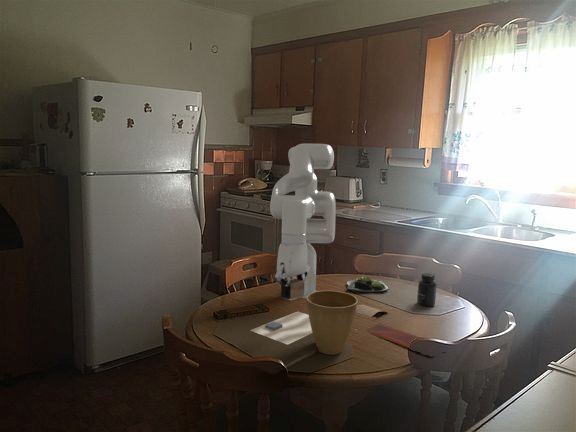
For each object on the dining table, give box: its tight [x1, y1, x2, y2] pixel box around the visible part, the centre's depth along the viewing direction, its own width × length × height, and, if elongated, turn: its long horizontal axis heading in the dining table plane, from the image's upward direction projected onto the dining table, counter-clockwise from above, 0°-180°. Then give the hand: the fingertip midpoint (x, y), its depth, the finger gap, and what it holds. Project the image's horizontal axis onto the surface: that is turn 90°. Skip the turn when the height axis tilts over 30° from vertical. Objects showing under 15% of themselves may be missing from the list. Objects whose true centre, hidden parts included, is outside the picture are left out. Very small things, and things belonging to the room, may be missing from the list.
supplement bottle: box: [416, 272, 437, 308], centre depth 181 cm, size 7×7×12 cm
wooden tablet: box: [365, 323, 420, 349], centre depth 148 cm, size 27×10×2 cm, turn 39°
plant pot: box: [306, 290, 359, 356], centre depth 139 cm, size 15×15×16 cm
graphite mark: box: [264, 320, 282, 331], centre depth 153 cm, size 4×4×1 cm
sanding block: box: [283, 278, 304, 302], centre depth 146 cm, size 4×6×5 cm, turn 139°
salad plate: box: [346, 276, 389, 294], centre depth 203 cm, size 19×18×5 cm
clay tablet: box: [355, 304, 388, 318], centre depth 170 cm, size 14×10×3 cm
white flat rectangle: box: [249, 311, 313, 345], centre depth 154 cm, size 16×24×1 cm, turn 139°
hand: (292, 295), depth 146 cm, fingers closed on sanding block, 6 cm apart
